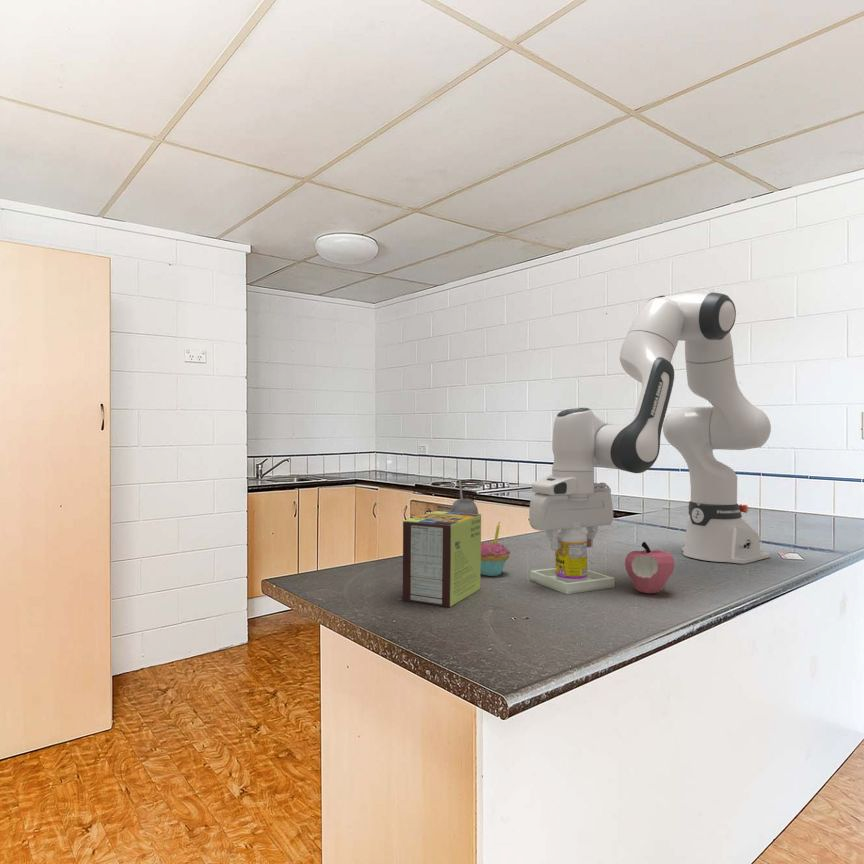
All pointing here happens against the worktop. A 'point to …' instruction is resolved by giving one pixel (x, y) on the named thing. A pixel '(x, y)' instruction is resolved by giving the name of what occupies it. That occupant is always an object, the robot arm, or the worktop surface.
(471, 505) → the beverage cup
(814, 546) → the worktop surface
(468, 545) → the protein box
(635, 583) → the apple
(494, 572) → the cupcake
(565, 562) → the supplement bottle
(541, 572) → the tray
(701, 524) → the robot arm
